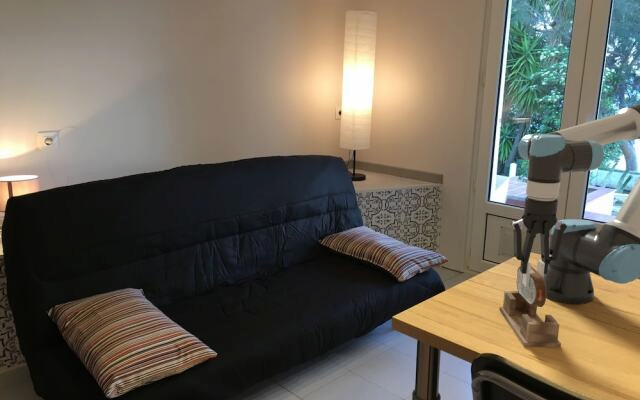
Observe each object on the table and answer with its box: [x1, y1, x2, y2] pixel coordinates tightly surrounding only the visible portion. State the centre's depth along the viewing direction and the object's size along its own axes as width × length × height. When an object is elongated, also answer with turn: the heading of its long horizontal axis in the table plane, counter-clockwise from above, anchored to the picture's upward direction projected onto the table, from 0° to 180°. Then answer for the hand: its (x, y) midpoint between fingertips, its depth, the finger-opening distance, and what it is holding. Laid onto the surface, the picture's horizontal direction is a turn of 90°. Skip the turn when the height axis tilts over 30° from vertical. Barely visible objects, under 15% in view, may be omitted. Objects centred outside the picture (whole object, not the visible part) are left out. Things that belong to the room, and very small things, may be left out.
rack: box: [499, 290, 562, 348], centre depth 137 cm, size 9×20×6 cm, turn 178°
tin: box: [516, 265, 547, 308], centre depth 136 cm, size 15×3×8 cm, turn 178°
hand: (532, 284), depth 135 cm, fingers closed on tin, 3 cm apart
